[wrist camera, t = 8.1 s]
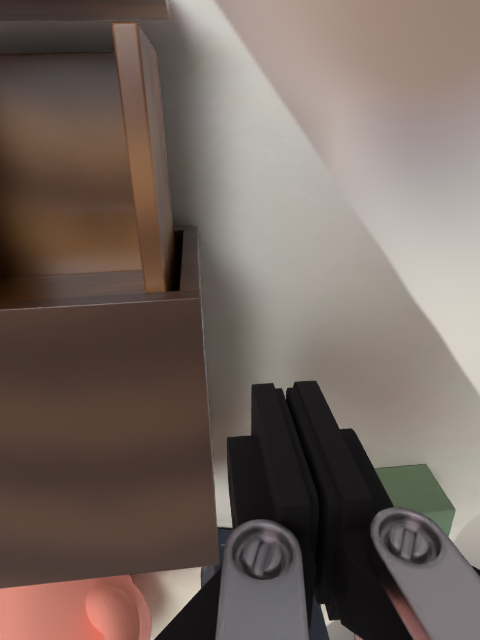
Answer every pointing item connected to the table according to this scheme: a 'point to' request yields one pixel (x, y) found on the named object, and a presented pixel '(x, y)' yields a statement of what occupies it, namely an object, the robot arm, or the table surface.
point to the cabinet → (106, 433)
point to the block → (418, 493)
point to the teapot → (75, 611)
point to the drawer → (84, 161)
